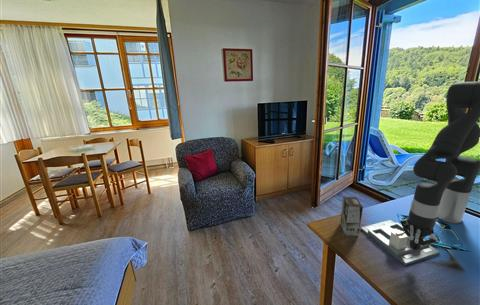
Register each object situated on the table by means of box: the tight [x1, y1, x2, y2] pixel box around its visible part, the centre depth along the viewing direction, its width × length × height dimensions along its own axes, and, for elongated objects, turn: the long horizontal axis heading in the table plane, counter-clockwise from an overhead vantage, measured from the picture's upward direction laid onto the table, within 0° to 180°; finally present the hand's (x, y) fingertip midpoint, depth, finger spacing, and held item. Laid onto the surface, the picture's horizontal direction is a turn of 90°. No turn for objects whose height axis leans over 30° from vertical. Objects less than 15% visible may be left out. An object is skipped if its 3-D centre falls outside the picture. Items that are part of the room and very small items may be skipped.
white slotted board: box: [360, 219, 441, 266], centre depth 91 cm, size 18×22×3 cm
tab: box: [389, 230, 408, 250], centre depth 85 cm, size 4×4×8 cm
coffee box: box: [339, 196, 364, 237], centre depth 98 cm, size 9×6×16 cm
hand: (413, 248), depth 79 cm, fingers closed
